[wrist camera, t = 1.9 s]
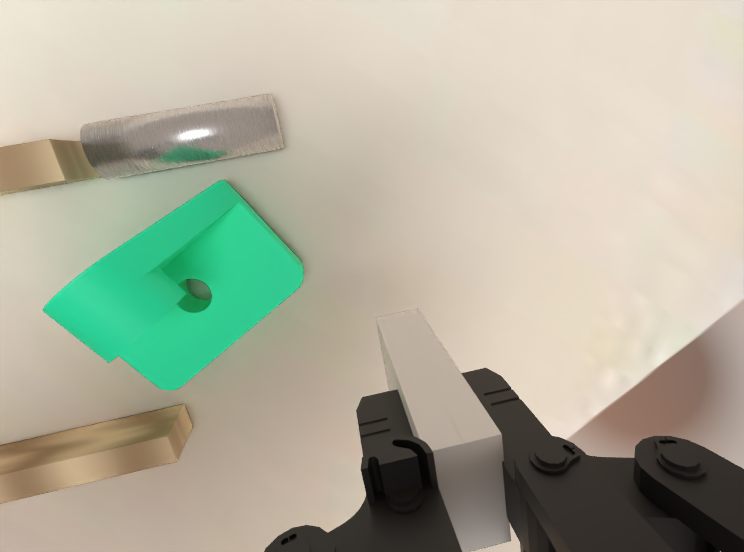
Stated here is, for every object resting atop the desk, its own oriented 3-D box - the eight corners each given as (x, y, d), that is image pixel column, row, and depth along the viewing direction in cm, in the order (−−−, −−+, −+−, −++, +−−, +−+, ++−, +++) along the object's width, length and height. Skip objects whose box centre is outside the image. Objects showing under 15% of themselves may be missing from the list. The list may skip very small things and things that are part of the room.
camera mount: (182, 375, 28) (111, 491, 18) (91, 299, 26) (-47, 386, 16) (310, 267, 27) (308, 328, 17) (228, 178, 25) (173, 190, 15)
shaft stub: (109, 135, 23) (119, 185, 23) (75, 114, 20) (87, 170, 20) (276, 107, 24) (286, 155, 24) (267, 83, 21) (278, 137, 21)
